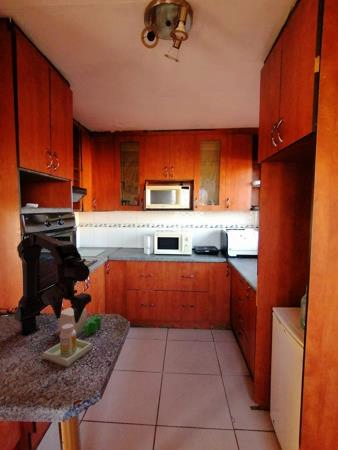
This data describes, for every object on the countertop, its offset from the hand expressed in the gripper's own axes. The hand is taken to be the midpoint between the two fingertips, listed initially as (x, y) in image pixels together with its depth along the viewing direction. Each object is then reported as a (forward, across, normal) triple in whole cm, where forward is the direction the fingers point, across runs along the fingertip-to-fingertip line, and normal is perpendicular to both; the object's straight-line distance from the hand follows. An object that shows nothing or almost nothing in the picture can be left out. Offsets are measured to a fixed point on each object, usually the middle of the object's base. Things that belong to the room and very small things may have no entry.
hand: (67, 320), depth 88 cm
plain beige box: (+12, -12, +13) cm, 22 cm away
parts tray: (+12, 0, 0) cm, 12 cm away
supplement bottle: (+12, 0, 0) cm, 12 cm away
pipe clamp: (+13, -4, +18) cm, 22 cm away
